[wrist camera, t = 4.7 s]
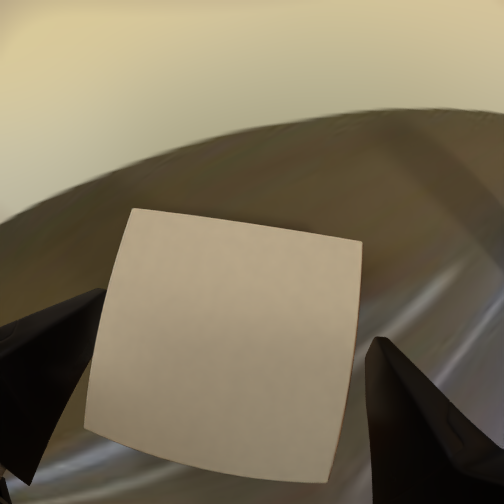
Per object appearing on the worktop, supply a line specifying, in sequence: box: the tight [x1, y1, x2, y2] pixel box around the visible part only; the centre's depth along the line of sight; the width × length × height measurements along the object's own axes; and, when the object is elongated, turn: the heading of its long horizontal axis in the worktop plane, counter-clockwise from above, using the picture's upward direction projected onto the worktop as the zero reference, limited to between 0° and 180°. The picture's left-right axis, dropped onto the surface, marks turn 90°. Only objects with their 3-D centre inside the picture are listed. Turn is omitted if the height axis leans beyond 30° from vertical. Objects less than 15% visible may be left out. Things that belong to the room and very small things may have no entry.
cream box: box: [84, 208, 362, 483], centre depth 10 cm, size 6×6×10 cm
